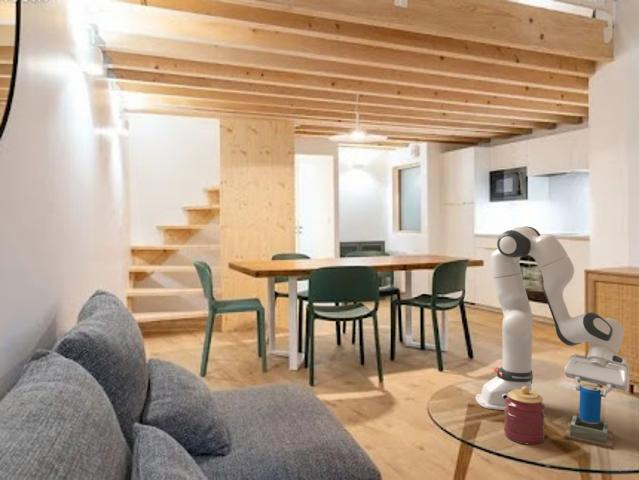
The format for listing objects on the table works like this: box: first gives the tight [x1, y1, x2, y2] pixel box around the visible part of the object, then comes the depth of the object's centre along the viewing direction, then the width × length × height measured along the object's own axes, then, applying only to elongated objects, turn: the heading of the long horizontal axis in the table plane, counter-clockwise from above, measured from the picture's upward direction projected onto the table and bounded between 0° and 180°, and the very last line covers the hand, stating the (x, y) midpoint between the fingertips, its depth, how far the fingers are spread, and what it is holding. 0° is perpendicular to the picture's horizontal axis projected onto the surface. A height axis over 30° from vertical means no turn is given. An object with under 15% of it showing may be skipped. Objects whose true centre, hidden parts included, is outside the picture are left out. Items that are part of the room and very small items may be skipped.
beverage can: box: [578, 383, 602, 424], centre depth 171 cm, size 6×6×12 cm
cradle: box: [564, 414, 614, 450], centre depth 171 cm, size 14×14×4 cm
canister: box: [503, 386, 547, 445], centre depth 170 cm, size 13×13×18 cm
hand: (590, 392), depth 170 cm, fingers closed on beverage can, 6 cm apart
